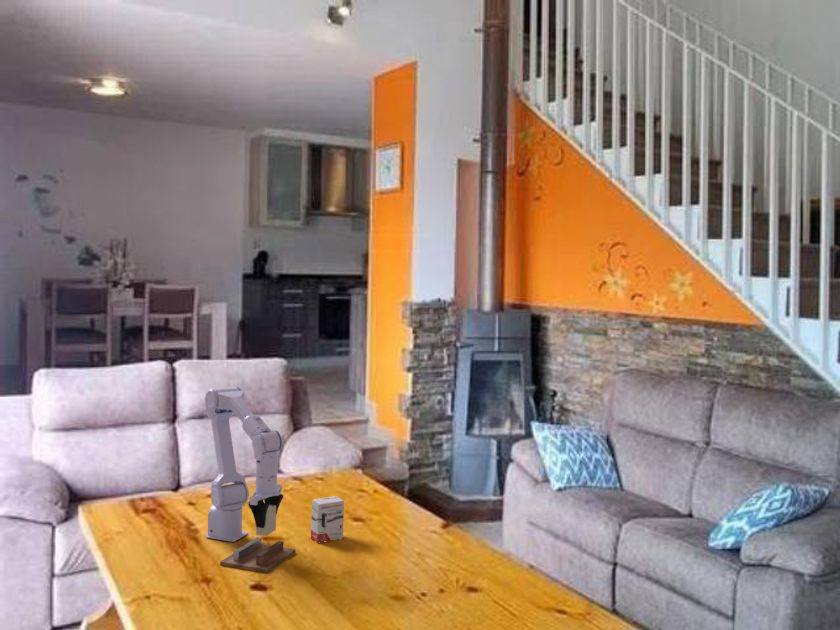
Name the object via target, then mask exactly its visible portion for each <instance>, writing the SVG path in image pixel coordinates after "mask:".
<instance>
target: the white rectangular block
mask: <svg viewBox="0 0 840 630" xmlns="http://www.w3.org/2000/svg"><path fill="white" fill-rule="evenodd" d="M276 527H277V515H276V505H271V504H270V505H269V507H268V509H267V513H266V519H265V526H264V528H259V527H256V526H255V528H256V530H255V535H256V536H264V537H267V536H269V535H270V534H271V533H273V532H275V531H276Z"/></svg>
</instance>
